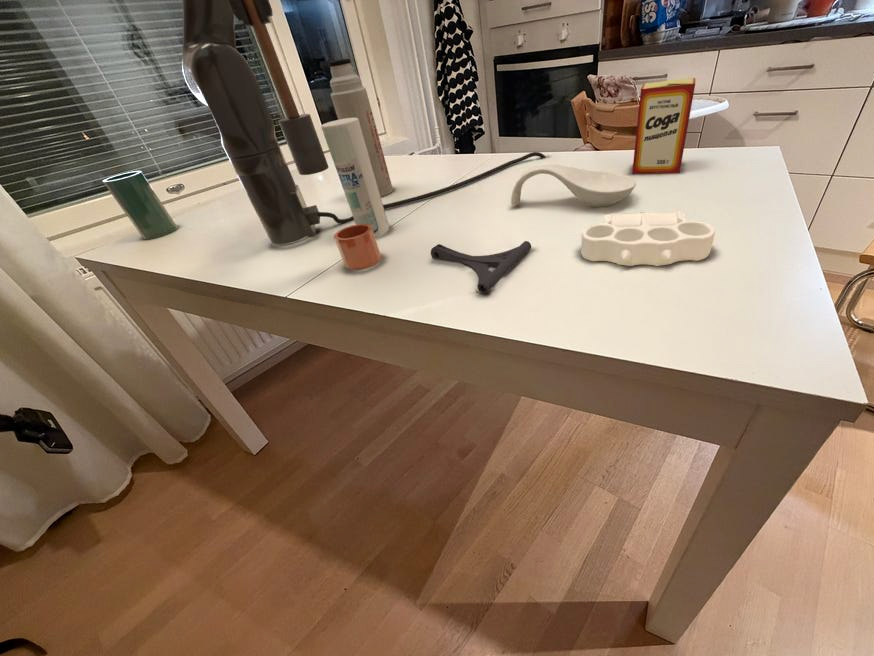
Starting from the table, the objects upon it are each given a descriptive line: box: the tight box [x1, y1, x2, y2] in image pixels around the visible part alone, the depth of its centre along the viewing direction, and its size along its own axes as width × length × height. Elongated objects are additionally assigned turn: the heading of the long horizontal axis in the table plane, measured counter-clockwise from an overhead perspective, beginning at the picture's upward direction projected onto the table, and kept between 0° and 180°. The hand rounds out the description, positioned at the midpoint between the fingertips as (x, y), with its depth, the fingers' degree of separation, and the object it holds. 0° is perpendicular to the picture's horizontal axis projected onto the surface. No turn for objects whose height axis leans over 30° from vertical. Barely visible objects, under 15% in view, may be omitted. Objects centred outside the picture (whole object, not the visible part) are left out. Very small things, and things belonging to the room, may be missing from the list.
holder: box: [333, 224, 382, 271], centre depth 68 cm, size 6×6×6 cm
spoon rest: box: [510, 163, 637, 208], centre depth 76 cm, size 24×12×7 cm, turn 74°
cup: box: [102, 170, 178, 240], centre depth 98 cm, size 8×8×14 cm
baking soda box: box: [631, 77, 696, 175], centre depth 82 cm, size 10×6×16 cm
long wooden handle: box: [242, 0, 329, 176], centre depth 52 cm, size 4×4×22 cm
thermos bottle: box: [327, 58, 394, 198], centre depth 94 cm, size 8×8×28 cm
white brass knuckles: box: [580, 210, 716, 267], centre depth 59 cm, size 3×18×15 cm
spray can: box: [320, 118, 390, 237], centre depth 75 cm, size 6×6×20 cm
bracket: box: [430, 240, 532, 295], centre depth 63 cm, size 14×15×3 cm
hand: (257, 23), depth 49 cm, fingers closed on long wooden handle, 1 cm apart
